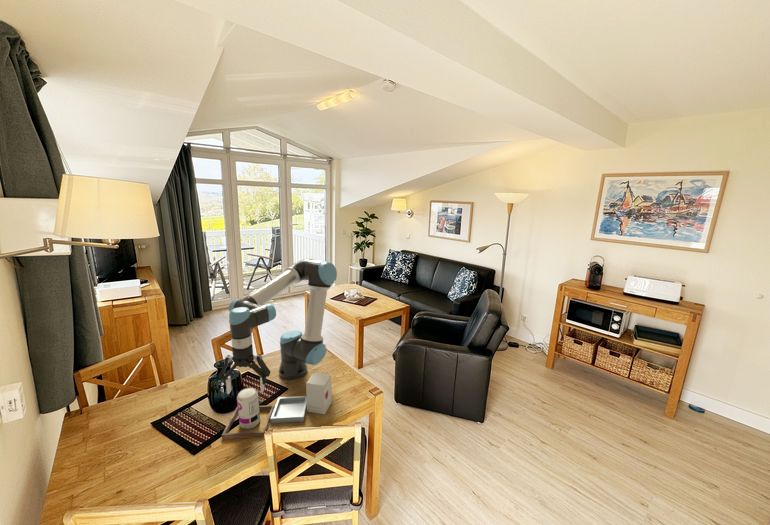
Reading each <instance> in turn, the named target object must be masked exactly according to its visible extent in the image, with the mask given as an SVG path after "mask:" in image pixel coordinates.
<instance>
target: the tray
mask: <svg viewBox="0 0 770 525" xmlns="http://www.w3.org/2000/svg"><path fill="white" fill-rule="evenodd" d="M274 406H275V408H274V410H273V413H272V416H271V418H270V419H271V420H270V424H284V423H286V424H287V423H301V422H305V417H306V413H307V396H306V395H298V396H279V397H277V401H276V403H275V404H274Z"/></svg>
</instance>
